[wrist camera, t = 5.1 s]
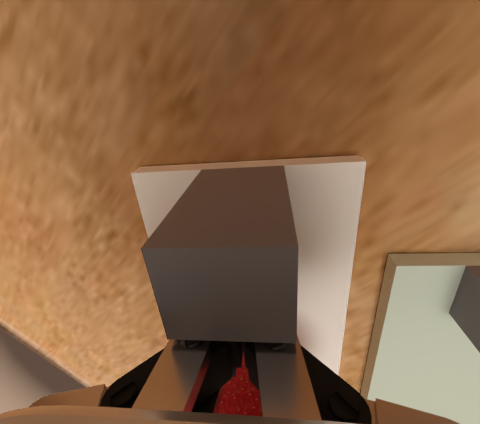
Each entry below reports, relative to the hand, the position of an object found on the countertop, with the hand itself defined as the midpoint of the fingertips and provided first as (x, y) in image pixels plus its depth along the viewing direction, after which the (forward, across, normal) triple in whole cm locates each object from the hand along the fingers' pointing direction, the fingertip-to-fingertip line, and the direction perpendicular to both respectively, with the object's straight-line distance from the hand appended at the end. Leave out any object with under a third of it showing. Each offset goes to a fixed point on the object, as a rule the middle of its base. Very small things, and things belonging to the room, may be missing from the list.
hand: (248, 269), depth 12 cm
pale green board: (+2, -11, +11) cm, 16 cm away
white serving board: (+2, 0, +5) cm, 6 cm away
